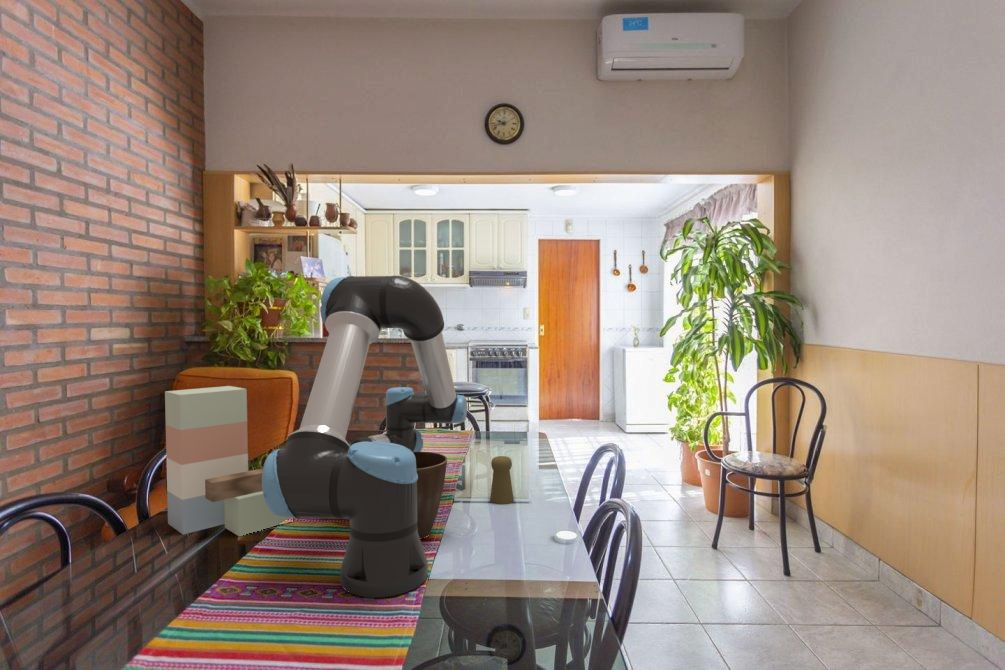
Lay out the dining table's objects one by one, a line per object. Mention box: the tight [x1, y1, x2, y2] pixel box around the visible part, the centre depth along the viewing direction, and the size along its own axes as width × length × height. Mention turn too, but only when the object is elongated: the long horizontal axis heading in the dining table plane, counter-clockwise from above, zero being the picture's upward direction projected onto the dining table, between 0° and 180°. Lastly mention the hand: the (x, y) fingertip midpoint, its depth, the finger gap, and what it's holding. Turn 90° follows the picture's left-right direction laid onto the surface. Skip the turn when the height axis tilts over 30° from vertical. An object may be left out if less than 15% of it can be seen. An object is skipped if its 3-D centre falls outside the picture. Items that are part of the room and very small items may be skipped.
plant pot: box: [413, 451, 448, 539], centre depth 119 cm, size 15×15×16 cm
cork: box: [489, 455, 515, 505], centre depth 142 cm, size 6×6×11 cm
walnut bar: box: [205, 467, 263, 502], centre depth 128 cm, size 26×4×4 cm, turn 137°
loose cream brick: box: [224, 491, 293, 537], centre depth 126 cm, size 12×8×8 cm, turn 137°
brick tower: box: [164, 385, 249, 535], centre depth 129 cm, size 14×10×30 cm
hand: (291, 466), depth 132 cm, fingers open, 13 cm apart
